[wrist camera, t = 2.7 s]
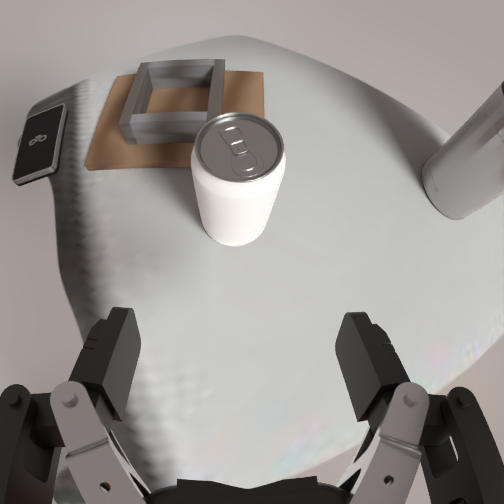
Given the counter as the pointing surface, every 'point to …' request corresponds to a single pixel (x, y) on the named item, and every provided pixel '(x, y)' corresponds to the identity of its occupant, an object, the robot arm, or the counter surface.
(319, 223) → the counter surface
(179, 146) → the socket board
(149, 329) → the counter surface
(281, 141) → the can
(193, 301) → the counter surface
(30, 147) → the external hard drive
